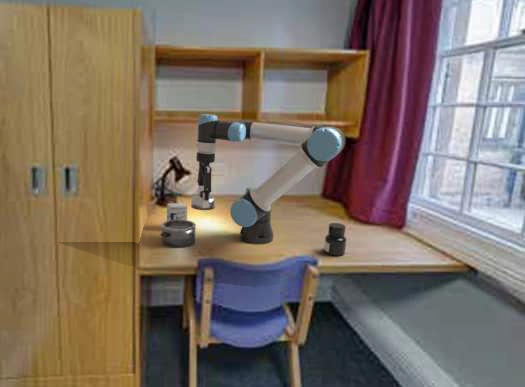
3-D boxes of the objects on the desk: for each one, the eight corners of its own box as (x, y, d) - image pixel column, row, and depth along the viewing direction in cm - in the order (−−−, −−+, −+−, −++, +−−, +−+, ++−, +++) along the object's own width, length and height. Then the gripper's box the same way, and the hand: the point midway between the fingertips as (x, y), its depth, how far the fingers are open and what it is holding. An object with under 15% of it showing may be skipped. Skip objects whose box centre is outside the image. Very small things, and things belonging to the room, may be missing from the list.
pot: (179, 233, 188) (180, 216, 187) (204, 239, 182) (205, 222, 180) (150, 244, 173) (150, 226, 171) (177, 252, 166) (177, 233, 164)
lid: (219, 207, 180) (220, 192, 178) (204, 211, 171) (205, 196, 170) (201, 202, 184) (202, 188, 183) (186, 206, 176) (186, 191, 174)
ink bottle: (327, 246, 182) (329, 220, 179) (347, 250, 179) (350, 224, 176) (321, 254, 173) (323, 226, 170) (342, 258, 170) (345, 230, 167)
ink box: (168, 231, 190) (168, 206, 187) (166, 228, 194) (166, 203, 192) (187, 229, 193) (187, 205, 191) (184, 226, 198) (185, 202, 195)
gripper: (192, 147, 181) (189, 196, 187) (202, 156, 161) (199, 211, 166) (209, 148, 184) (206, 197, 189) (221, 157, 163) (217, 211, 168)
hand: (203, 203), depth 178 cm, fingers closed on lid, 10 cm apart
